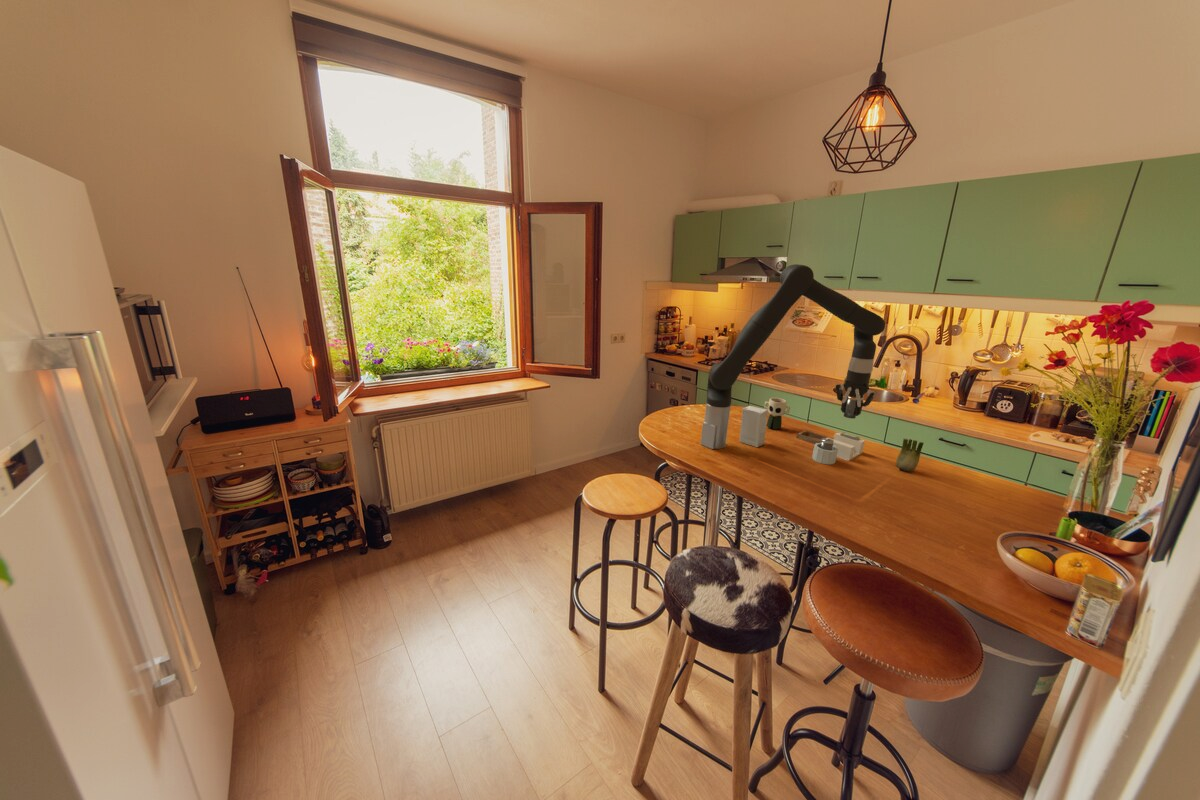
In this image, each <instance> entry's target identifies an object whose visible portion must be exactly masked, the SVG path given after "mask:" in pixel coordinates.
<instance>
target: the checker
mask: <svg viewBox="0 0 1200 800" xmlns="http://www.w3.org/2000/svg"><path fill="white" fill-rule="evenodd" d="M831 438H832V437H829V439H831ZM832 440H833V441H834V443H833V445H834V446H835V447H837V448H838V452H837V457H836V458H838V459H841V460H845V461H847V462H848V461H851V460H852V459H855V458H857V457H858V456H859V455H861V454H862V453H863V450H864V445H865V440H864V439H860V436H857V435H853V434H850V433H848V432H844V431H842V432H836V433H834V435H833V438H832Z"/></svg>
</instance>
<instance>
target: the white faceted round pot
mask: <svg viewBox="0 0 1200 800" xmlns="http://www.w3.org/2000/svg"><path fill="white" fill-rule="evenodd" d="M820 444H821V443H816V444H814V446H813V447H814V448H813V451H812V455H811V456H812V457H811V458H812V460H813V461H815V462H816V463H820V464H823V465H834V464H835V463H836V460H837V458H838V457H837V452H838V448H837V447H835V446H834V445H833V447H832V450H830V451H829V450H824V449H821V448H820Z"/></svg>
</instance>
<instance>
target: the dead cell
mask: <svg viewBox="0 0 1200 800" xmlns="http://www.w3.org/2000/svg"><path fill="white" fill-rule="evenodd" d="M829 438H830V437H829ZM829 438H822V440H821V444H820V448H821V449H824V450H829V451H830V450H832V447H833V443H834V441H833V440H832V439H833V438H832V439H829Z"/></svg>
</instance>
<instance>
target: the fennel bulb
mask: <svg viewBox="0 0 1200 800" xmlns="http://www.w3.org/2000/svg"><path fill="white" fill-rule="evenodd" d="M917 444H918V445H917ZM924 444H925V443H924V442H923V441H919V442H918V440H917V439H912V438H910V439H909V438H903V441H902V447H901V449H900V451H899V453H898V456H897V457H896V462H895V463H896V464H895V465H896V467H897V468H898V469H899V470H900V471H904V472H908V473H909V472H914V471H915V470H916V468H917V467H918V465H919V462H920V457H921V454H922V449H923V446H924Z"/></svg>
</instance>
